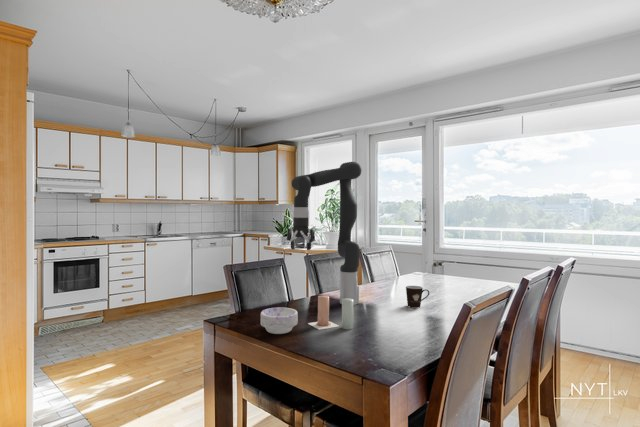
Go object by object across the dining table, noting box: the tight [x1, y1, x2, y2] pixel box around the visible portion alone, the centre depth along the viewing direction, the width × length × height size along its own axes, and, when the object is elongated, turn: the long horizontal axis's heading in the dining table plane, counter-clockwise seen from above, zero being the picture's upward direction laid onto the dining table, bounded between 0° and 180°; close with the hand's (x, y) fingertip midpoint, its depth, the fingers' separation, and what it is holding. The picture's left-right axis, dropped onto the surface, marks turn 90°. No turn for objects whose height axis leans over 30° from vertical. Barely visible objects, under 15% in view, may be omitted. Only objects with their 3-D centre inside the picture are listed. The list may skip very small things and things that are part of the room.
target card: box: [307, 320, 340, 331], centre depth 172 cm, size 10×10×1 cm
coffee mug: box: [405, 285, 430, 308], centre depth 207 cm, size 12×9×10 cm
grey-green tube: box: [341, 298, 354, 331], centre depth 168 cm, size 5×5×12 cm
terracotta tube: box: [317, 295, 330, 326], centre depth 172 cm, size 5×5×12 cm
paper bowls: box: [260, 306, 299, 335], centre depth 164 cm, size 15×15×8 cm
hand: (300, 249), depth 195 cm, fingers open, 8 cm apart
